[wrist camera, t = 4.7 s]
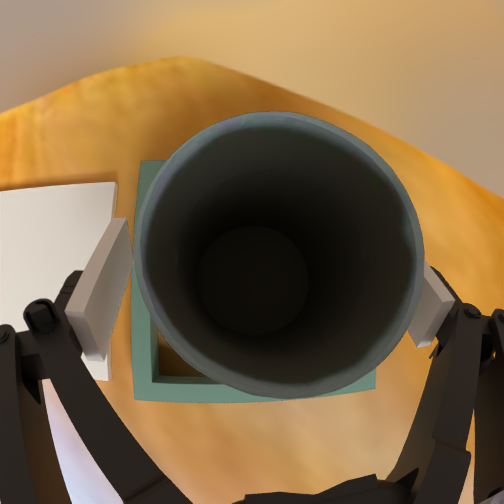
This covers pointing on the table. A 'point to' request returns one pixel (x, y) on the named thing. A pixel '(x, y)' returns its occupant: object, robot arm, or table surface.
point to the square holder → (146, 346)
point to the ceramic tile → (50, 246)
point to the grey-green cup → (279, 255)
